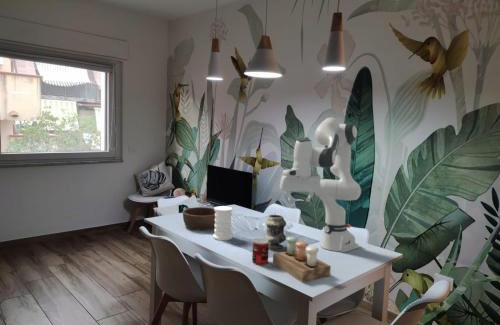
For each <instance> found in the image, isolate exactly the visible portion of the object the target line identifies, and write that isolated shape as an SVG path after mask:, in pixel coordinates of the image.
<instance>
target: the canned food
mask: <svg viewBox="0 0 500 325" xmlns="http://www.w3.org/2000/svg"><path fill="white" fill-rule="evenodd" d="M269 244H270V243H269V241H268V240H266V239H265V238H254V239H253V241H252V254H251V256H252V257H251V258H252V259H251V260H252V263H253V264H255V265H258V266H264V265H267V264H268V262H269V250H270V249H269Z"/></svg>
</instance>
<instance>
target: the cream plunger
mask: <svg viewBox="0 0 500 325" xmlns="http://www.w3.org/2000/svg"><path fill="white" fill-rule="evenodd" d="M306 253H307V254H308V256H307V265H309V266H316V258H317V255H318V254H317V253H319V248H318V247H316V246H307V247H306Z"/></svg>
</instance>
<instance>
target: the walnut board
mask: <svg viewBox="0 0 500 325" xmlns="http://www.w3.org/2000/svg"><path fill="white" fill-rule="evenodd" d="M307 256H308V252H305V260H298V259H297V249H295V254H293V255H292V254H288V253H287V250H286V251H281V252H276V253H275V252H274V253H273V254H272V264H273V265H275V266H276V267H278V268H279V269H281V270H282V271H283V272H285V271H286V272H285V273H286V274H288V273H289V274H288V275H290V276H291V275H292V276H291V277H293V278H295V279H296V280H298V281H299V282H300V283H306V282H312V281H316V280H319V279H325V278H328V277H330V276H331V269H332V268H331V267H332V266H331V265H330V264H328V263H326V262H323V261H322V260H320V259H318V258H317V257H316V266H309V265H307Z"/></svg>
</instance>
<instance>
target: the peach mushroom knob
mask: <svg viewBox="0 0 500 325" xmlns="http://www.w3.org/2000/svg"><path fill="white" fill-rule="evenodd" d="M296 247H297V249H296V250H297V259H298V260H305V253H307V251H306V248H307V247H309V246H308V243H307V242H306V241H301V240H300V241H299V240H298V241H297V242H296Z"/></svg>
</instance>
